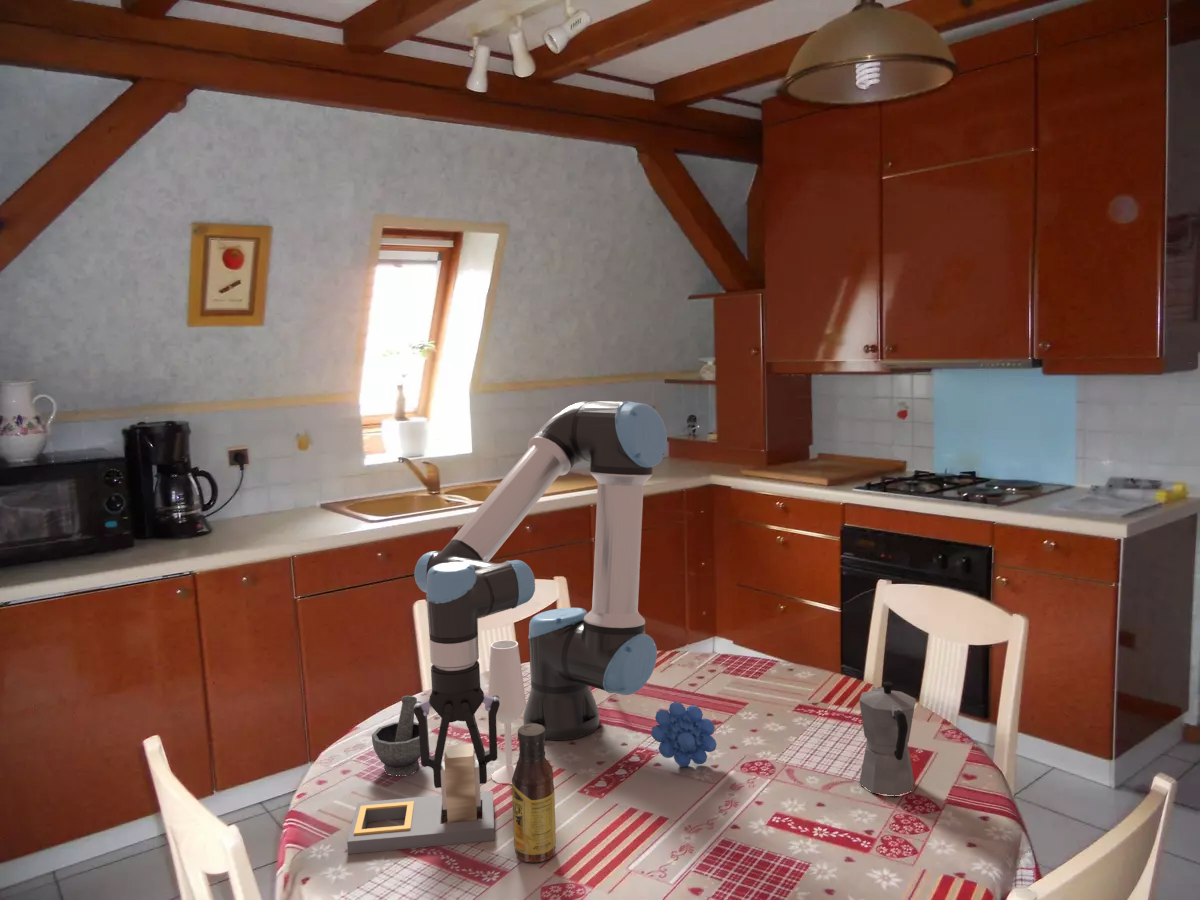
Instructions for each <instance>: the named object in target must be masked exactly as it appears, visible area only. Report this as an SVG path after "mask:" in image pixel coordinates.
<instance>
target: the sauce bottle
mask: <svg viewBox="0 0 1200 900" xmlns="http://www.w3.org/2000/svg"><path fill="white" fill-rule="evenodd" d="M545 737H546V735H545V728H544V726H542V725H539V724H535V723H534V724H526V725H524V724H523V725H522V726H520V727H518V730H517V740H518V741H519V742H518V743H519V745H518V746H519V753H518V760H517V763H516V765H515V766H516V768H515V771H514V775H513V778H512V785H511V795H512V818H513V819H512V821H513V822H512V824H513V846H514V850H515V854H516V856H517V857H518V859H519V860H520V861H522V862H525V863H533V864H534V863H542V862H545V861H547V860H549V859H551V858H552V857H553V856H554V853H555V850H556V841H557V837H556V836H557V835H556V834H557V833H556V799H555V796H556V795H555V785H554V771H553V767H552V765H551V763H550V762H549V760H548V759H547V758H546V751H545V748H546V747H545V740H546V739H545Z"/></svg>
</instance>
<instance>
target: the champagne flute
mask: <svg viewBox="0 0 1200 900" xmlns="http://www.w3.org/2000/svg"><path fill="white" fill-rule="evenodd" d="M489 653H490V654H489V671H488V672H489V673H488V687H487V688H488V690H487V693H488V695H487V696H491V697H493V696H494V695H497V696H498V697H499V702H500V705H499V708H498V711H497V714H496V721H498V722H499V723H500V724H503V725H504V726H503V728H504V751H505V753H504V754H505V755H504V756H505V765H504V766H502V767H500V768H498V769H497V770H494V771H493V772H494V773H493V772H492V773H493V774H492V773H491V775H492V779H493V780H495V781H497V782H500V783H512V778H513V775H514V771H515V768H516V765H515V764H513V748H512V747H513V743H512V741H513V740H512V723H514V722H515V721H516V720H517V719H518V718H519V717H520V716H521V715H522V714H523V713H524V711H525V708H526V704H527V700H526V693H525V687H524V678H523V671H522V663H521V657H520V649H519V643H518V641H515V640H512V639H501V640H500V639H499V640H496V641H494V642H492V643H491V644H490V651H489Z"/></svg>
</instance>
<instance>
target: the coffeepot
mask: <svg viewBox="0 0 1200 900" xmlns="http://www.w3.org/2000/svg"><path fill="white" fill-rule="evenodd" d="M882 685H883V686H878V687H877V688H876V687H874V686H873V687H871V690H868V691H863V692H861V695H860V697H859V700H858V701H859V707H860V714H861V720H862V721H861V722H862V728H863V734H864V737H865V738H866V744H865V749H864V750H865V751H864V755H863V761H862V766H861V770H860V771H861V772H860V778H859V782H858V783H860V784H861V785H863V786H864V787H866V788H867V789H868V790H870V791H871V792H872V793H871V792H870V793H871V794H873V793H880V794H887V795H894V796H895V795H900V794H903V793H907V792H910V791H912V790H914V787H913V784H914V785H915V779H914V778H915V777H914V773H913V766H912V760H911V753H910V749H909V744H908V743H909V742H910V741H909V740H910V737H911V731H912V730H911V729H912V724H913V718H914V711H915V705H916V702H917V701H916V700H917V699H916V698H915V697H913V696H911V695H909V694H907V693H904V692H903V691H899V690H898V691H897V690H892V689H893V683H892V682H891V681H885V682H882ZM860 784H859V785H860ZM861 785H860V786H861Z"/></svg>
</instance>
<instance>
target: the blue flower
mask: <svg viewBox="0 0 1200 900" xmlns="http://www.w3.org/2000/svg"><path fill="white" fill-rule="evenodd" d="M703 713H704V712H703V711H702V709H701V708H699V706H697V705H693V704H692V705H690V706H687V707H685V705H683V704H682V702H678V701H673V702H672V703H670V704H669V709H668V710H666V709H660V710H658V711H656V713H655V718H654V719H655V721H656V723H657V724H656V725H654V726H652V728H651V732H650V734H651V737H652V738H653V739H654V740H655V741H656V742H657V743H659V746H658V752H659V754H660V755H662V757H663V758H666V759H671V758H673V759H674V762H675V763H676V764H677V765H678V766H679V767H682V768H684V767H685V768H686V767H688V766H689V765H690V764H691V760H692V761H693V763H694V764H697V765H703V764H705V763H706V762H707V759H708V755H707V753H713V752H714V751H715V750H716V749H717V741H716V740H715V737H713V736H712V735H713V734H714V733H715V730H716V726H715V724H714V722H713V721H712V720H711V719H708V718H707V717H706V718H704V717H703V715H704V714H703Z"/></svg>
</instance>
